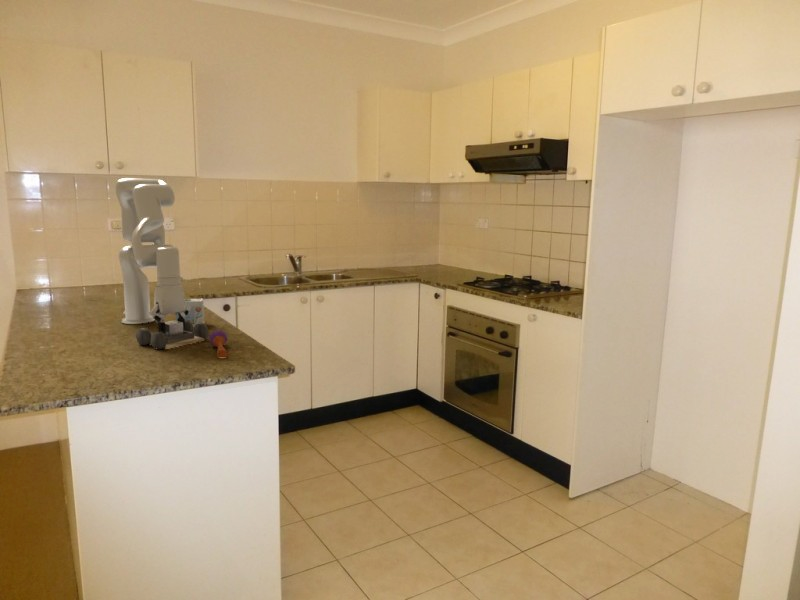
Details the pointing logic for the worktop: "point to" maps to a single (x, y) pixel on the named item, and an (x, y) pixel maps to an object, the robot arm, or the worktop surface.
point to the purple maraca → (219, 342)
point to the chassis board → (161, 341)
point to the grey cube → (173, 328)
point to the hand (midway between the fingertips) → (171, 330)
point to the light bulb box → (194, 311)
